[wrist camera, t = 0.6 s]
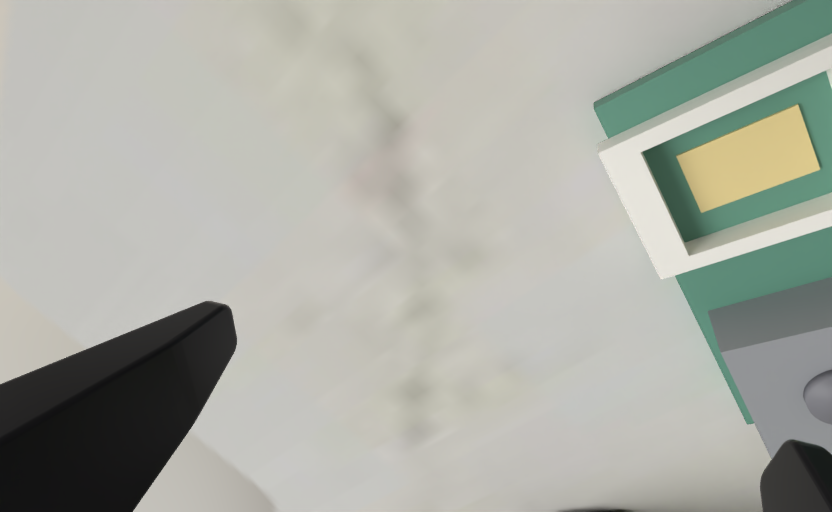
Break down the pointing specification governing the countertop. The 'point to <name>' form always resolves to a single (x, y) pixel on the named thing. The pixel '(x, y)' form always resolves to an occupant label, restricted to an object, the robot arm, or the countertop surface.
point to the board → (743, 206)
